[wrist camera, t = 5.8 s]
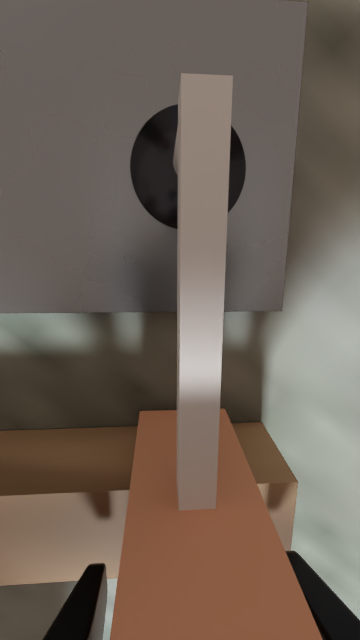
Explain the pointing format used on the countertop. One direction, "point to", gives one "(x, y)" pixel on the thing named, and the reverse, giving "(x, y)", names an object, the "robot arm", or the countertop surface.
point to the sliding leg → (201, 441)
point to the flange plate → (139, 148)
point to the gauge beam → (97, 497)
